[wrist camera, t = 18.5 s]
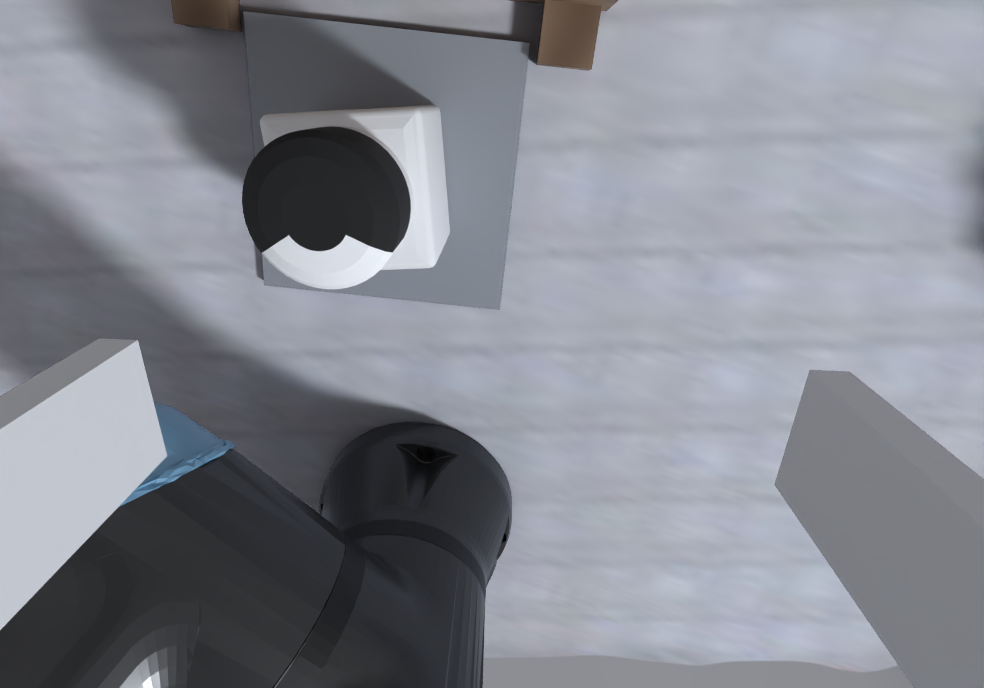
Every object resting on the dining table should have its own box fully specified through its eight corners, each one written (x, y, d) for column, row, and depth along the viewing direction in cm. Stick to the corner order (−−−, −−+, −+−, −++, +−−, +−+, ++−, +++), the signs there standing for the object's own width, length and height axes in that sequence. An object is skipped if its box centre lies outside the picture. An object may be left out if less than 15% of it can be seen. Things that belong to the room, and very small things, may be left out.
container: (310, 111, 32) (194, 119, 20) (440, 104, 32) (398, 108, 20) (332, 240, 35) (243, 311, 24) (451, 235, 35) (420, 305, 23)
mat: (267, 282, 37) (264, 285, 37) (247, 12, 31) (243, 11, 30) (499, 306, 38) (499, 309, 37) (529, 43, 31) (529, 43, 30)
